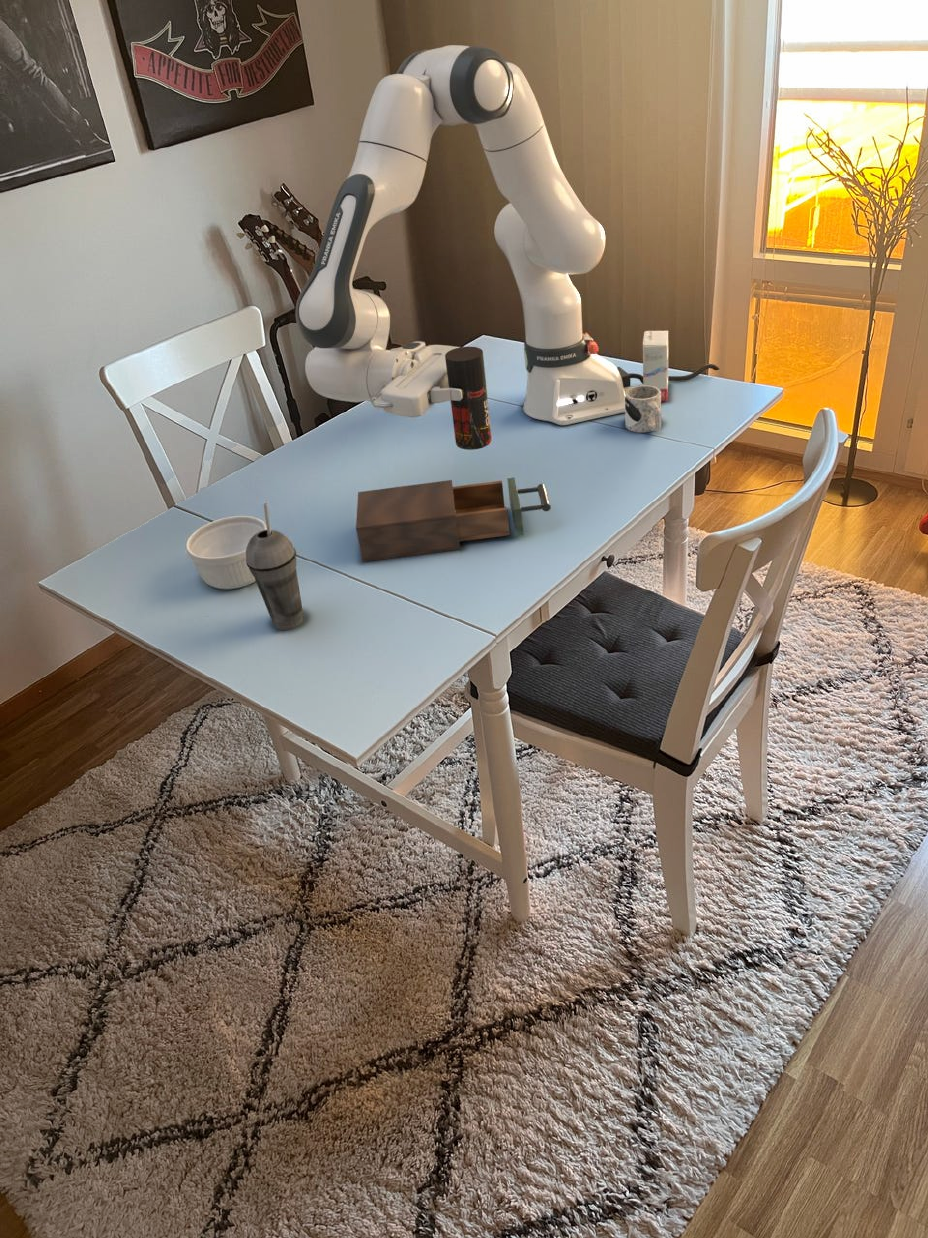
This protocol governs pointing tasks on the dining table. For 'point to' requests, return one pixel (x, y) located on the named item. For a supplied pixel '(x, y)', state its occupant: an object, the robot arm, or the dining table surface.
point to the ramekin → (224, 551)
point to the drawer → (492, 509)
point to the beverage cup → (276, 575)
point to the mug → (643, 408)
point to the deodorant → (469, 397)
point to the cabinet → (407, 521)
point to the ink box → (656, 361)
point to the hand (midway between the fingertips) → (472, 384)
